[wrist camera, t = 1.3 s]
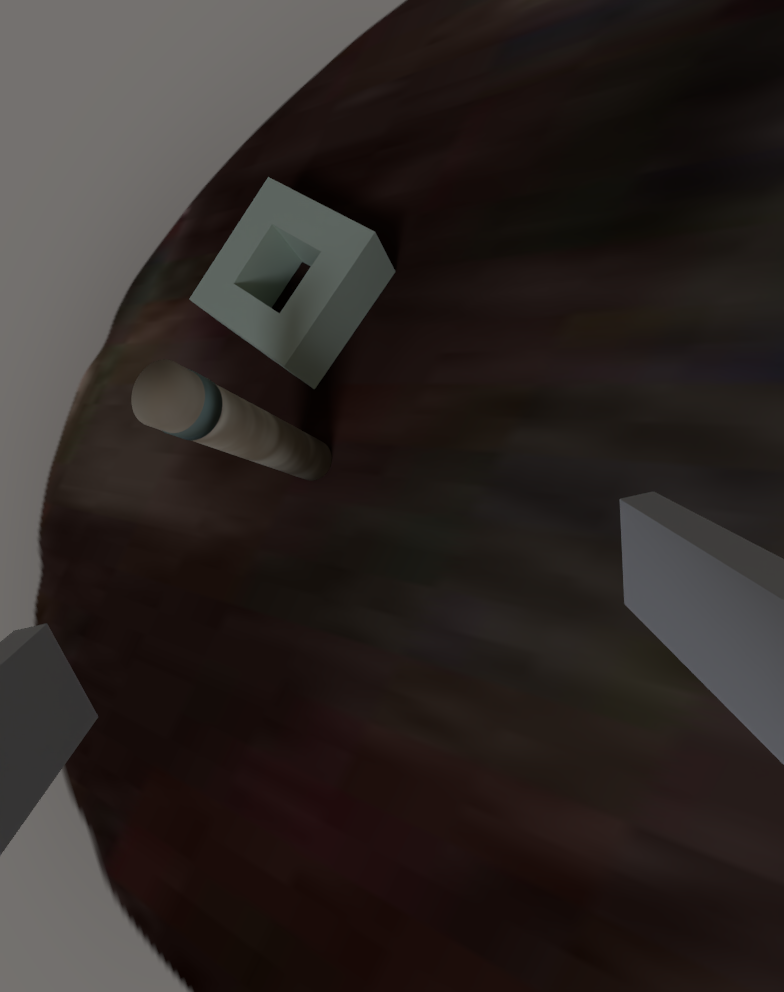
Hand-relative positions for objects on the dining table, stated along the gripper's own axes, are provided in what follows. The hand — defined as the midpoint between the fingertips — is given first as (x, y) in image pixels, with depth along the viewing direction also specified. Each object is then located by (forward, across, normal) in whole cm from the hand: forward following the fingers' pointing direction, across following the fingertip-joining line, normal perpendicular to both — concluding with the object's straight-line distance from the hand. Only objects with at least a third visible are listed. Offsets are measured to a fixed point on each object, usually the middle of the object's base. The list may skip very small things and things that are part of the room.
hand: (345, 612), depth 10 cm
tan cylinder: (+25, -4, -2) cm, 26 cm away
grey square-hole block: (+32, -2, +10) cm, 33 cm away
